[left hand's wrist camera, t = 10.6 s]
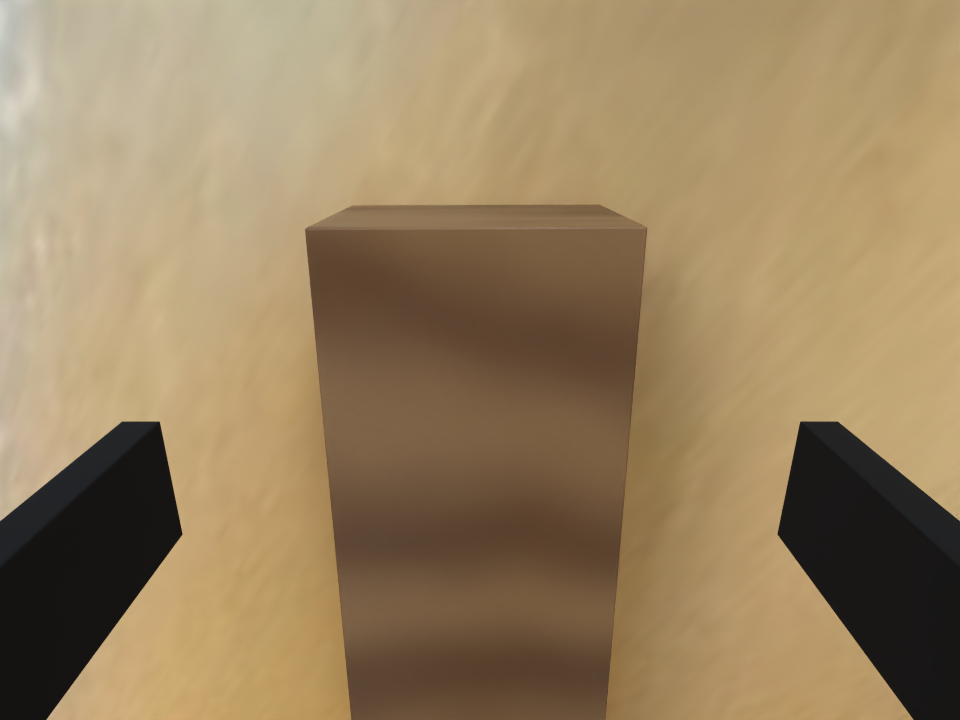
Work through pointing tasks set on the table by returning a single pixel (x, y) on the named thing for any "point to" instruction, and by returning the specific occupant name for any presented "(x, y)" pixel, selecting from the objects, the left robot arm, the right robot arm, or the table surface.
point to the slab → (477, 451)
